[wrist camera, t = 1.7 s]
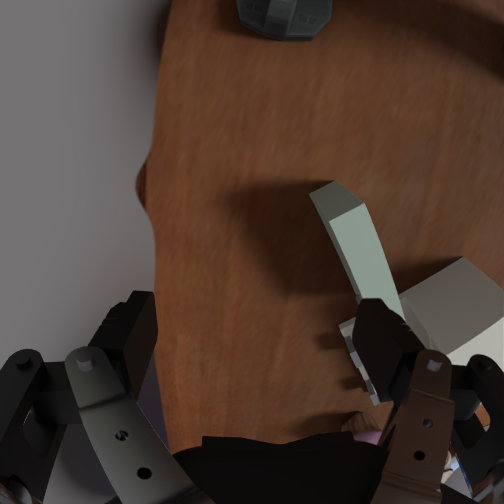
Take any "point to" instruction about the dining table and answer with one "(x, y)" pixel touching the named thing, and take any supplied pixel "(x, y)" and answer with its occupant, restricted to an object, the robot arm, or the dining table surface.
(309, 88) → the dining table surface
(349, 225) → the door
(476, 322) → the cabinet
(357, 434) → the cupcake
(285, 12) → the zipper pull
